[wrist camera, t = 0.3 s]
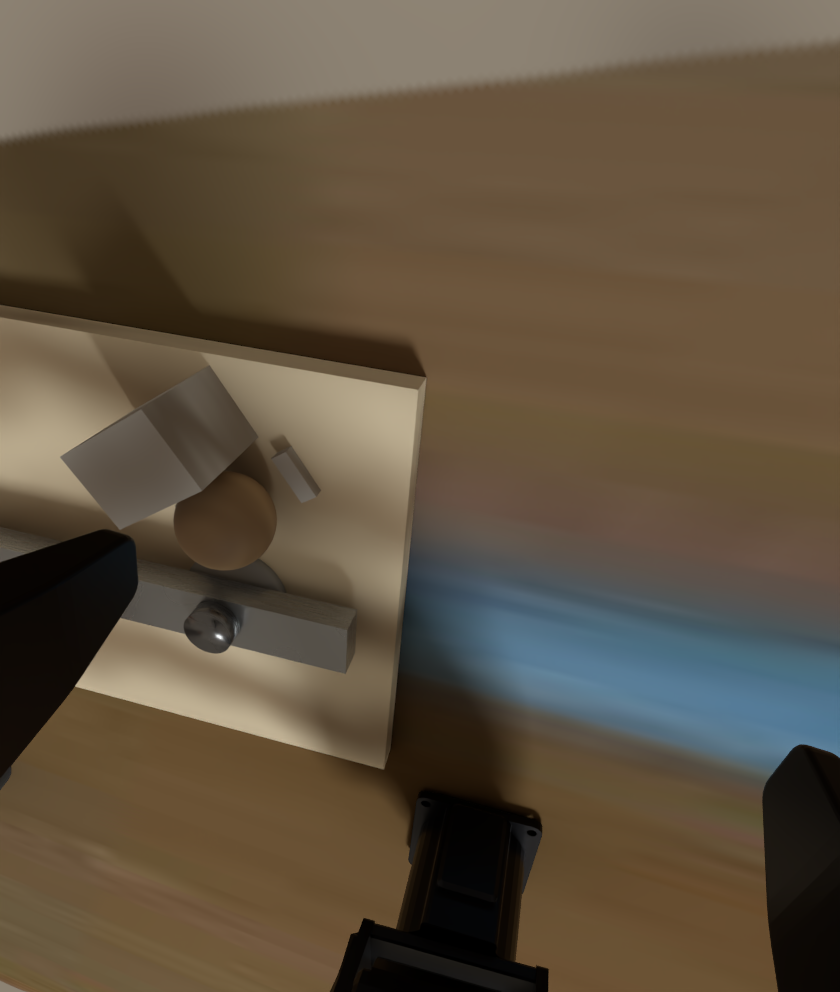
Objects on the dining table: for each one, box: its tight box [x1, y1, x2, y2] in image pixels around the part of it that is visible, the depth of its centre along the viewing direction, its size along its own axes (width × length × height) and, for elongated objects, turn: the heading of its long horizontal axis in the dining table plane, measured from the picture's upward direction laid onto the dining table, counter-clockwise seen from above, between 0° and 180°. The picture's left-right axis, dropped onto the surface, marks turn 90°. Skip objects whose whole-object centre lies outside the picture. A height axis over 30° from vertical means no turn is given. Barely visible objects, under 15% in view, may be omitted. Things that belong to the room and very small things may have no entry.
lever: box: [0, 527, 357, 674], centre depth 25 cm, size 21×3×7 cm, turn 85°
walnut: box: [173, 471, 277, 570], centre depth 23 cm, size 4×4×4 cm
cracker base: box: [0, 305, 426, 769], centre depth 27 cm, size 20×22×5 cm
